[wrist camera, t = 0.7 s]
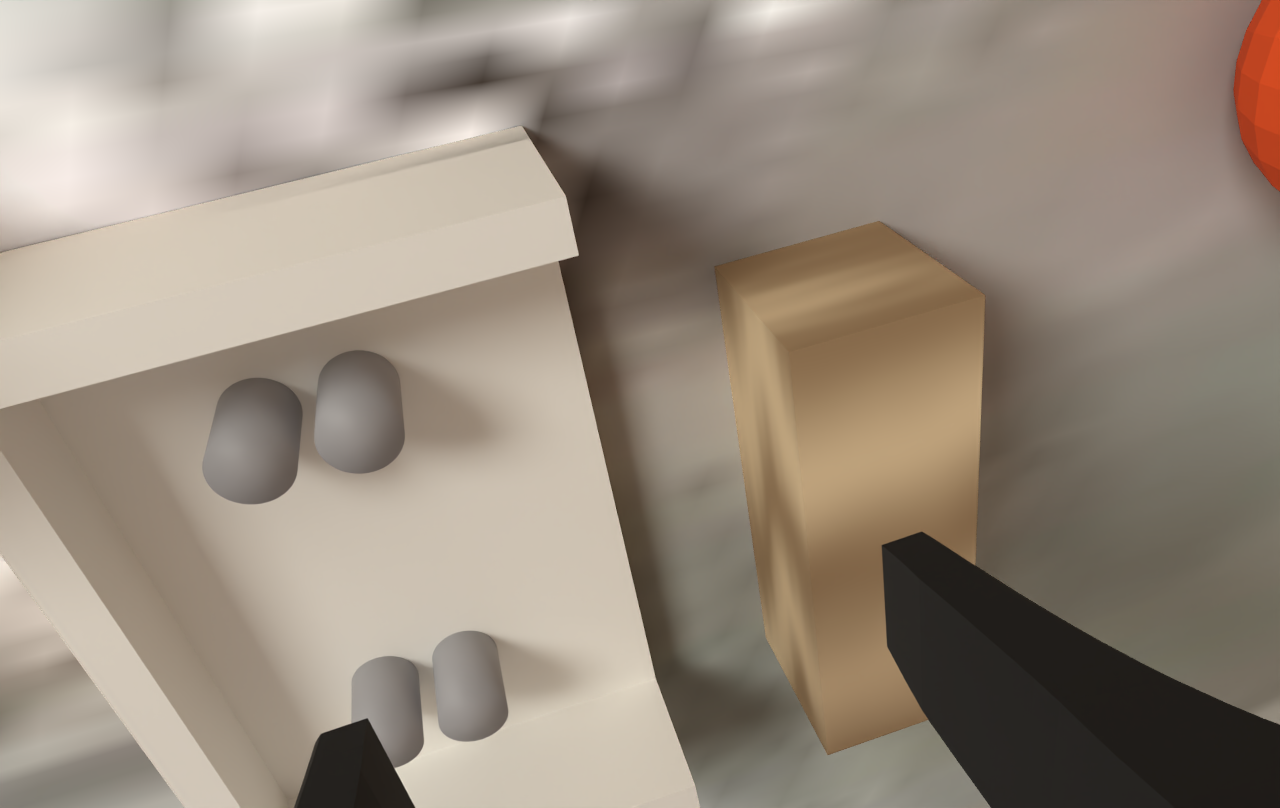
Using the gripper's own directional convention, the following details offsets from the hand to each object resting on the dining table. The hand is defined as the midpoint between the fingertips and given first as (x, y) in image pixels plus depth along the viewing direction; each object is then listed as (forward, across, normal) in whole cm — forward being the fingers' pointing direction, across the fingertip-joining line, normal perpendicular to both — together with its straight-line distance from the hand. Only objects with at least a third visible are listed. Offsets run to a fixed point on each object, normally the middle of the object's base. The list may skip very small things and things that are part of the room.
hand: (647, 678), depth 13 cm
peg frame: (+10, +5, +3) cm, 11 cm away
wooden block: (+10, -6, +5) cm, 13 cm away
